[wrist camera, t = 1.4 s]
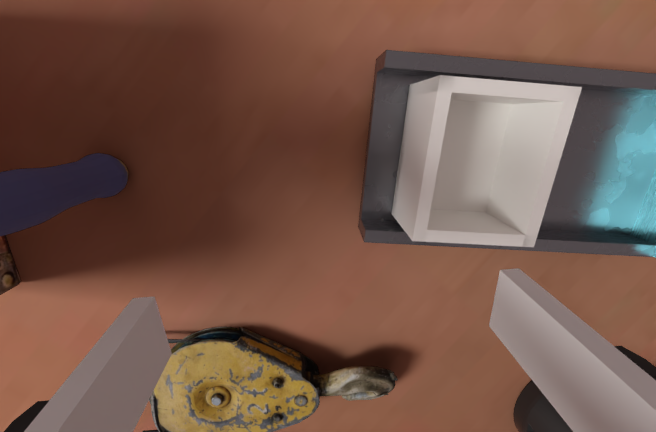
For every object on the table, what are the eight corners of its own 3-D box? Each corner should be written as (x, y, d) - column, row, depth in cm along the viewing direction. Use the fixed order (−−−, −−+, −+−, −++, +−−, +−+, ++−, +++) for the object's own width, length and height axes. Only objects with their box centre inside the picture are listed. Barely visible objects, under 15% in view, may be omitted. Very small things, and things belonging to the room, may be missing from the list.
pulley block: (399, 461, 35) (127, 465, 34) (387, 419, 41) (154, 422, 39) (407, 346, 33) (116, 346, 31) (394, 319, 38) (147, 318, 37)
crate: (518, 93, 28) (582, 86, 21) (487, 219, 32) (533, 247, 25) (409, 84, 27) (440, 75, 21) (391, 213, 31) (412, 241, 24)
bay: (686, 86, 30) (779, 78, 24) (625, 241, 34) (689, 267, 29) (376, 59, 28) (392, 44, 22) (358, 226, 33) (367, 251, 27)
